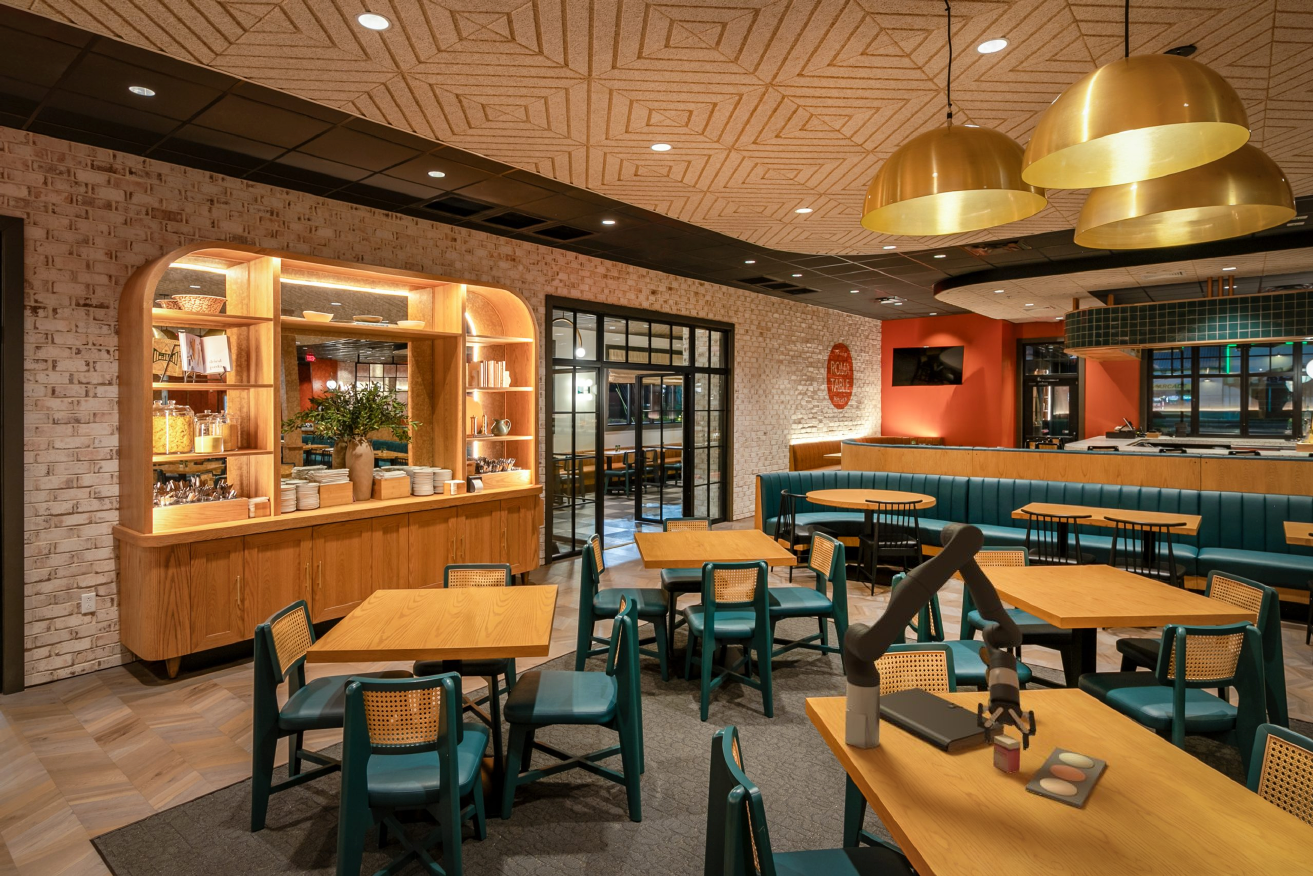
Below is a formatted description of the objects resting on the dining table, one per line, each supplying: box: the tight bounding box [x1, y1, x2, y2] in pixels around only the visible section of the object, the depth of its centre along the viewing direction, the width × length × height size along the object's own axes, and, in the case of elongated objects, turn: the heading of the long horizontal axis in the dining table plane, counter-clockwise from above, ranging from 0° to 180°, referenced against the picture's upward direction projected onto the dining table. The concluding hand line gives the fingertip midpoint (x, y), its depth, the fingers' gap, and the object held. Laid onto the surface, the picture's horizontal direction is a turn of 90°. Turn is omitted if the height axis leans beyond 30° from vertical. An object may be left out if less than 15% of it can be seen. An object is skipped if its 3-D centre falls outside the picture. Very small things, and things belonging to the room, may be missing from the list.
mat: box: [1025, 746, 1107, 809], centre depth 181 cm, size 30×12×1 cm, turn 137°
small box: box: [992, 733, 1021, 774], centre depth 185 cm, size 5×4×8 cm
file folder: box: [880, 687, 1005, 753], centre depth 214 cm, size 33×4×24 cm
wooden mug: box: [978, 644, 990, 706], centre depth 227 cm, size 9×14×18 cm, turn 24°
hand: (1006, 746), depth 185 cm, fingers open, 8 cm apart
